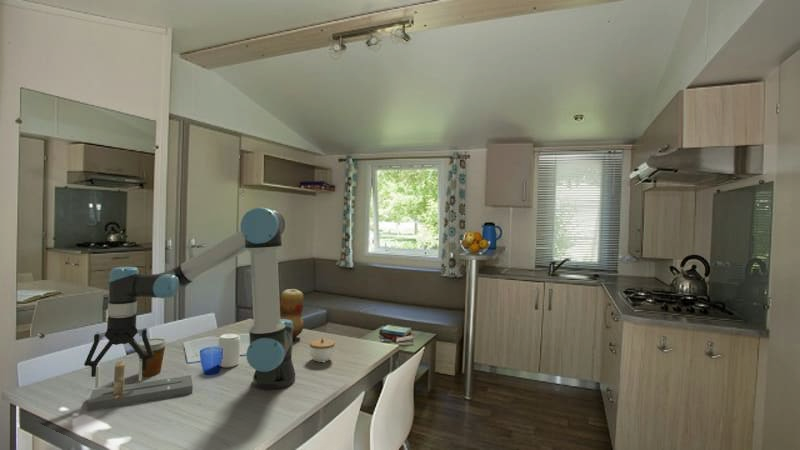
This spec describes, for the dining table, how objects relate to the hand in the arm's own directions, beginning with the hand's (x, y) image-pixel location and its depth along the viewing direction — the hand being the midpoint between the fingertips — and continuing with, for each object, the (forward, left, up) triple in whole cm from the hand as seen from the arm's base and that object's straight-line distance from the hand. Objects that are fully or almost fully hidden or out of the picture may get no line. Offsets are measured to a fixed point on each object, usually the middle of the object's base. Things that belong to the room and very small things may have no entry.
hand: (119, 382), depth 122 cm
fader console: (-5, -5, -5) cm, 9 cm away
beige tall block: (0, 0, -3) cm, 3 cm away
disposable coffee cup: (+8, -20, -6) cm, 22 cm away
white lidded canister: (-13, -37, -6) cm, 39 cm away
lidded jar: (-46, -55, -6) cm, 72 cm away
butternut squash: (-18, -77, -6) cm, 79 cm away
